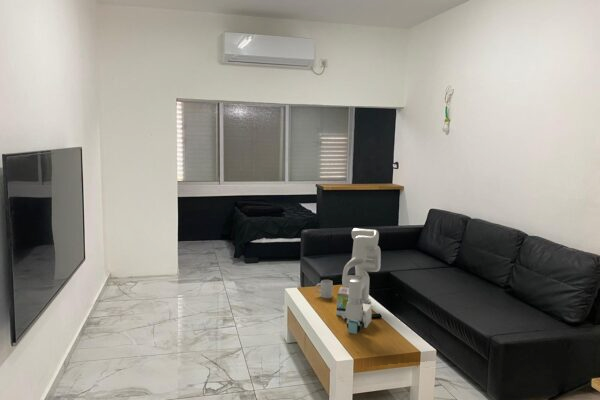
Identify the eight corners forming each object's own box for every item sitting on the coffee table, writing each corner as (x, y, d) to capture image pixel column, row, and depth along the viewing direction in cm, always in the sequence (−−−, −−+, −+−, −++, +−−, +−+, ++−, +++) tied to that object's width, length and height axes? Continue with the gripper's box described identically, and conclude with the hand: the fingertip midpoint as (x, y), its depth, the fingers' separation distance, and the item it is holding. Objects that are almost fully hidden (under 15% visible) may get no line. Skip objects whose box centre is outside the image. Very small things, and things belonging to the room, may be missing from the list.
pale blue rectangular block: (353, 324, 279) (354, 315, 278) (362, 326, 277) (362, 316, 276) (348, 332, 268) (348, 322, 267) (356, 334, 266) (356, 324, 265)
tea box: (351, 317, 291) (352, 294, 289) (336, 315, 293) (336, 293, 291) (353, 308, 306) (354, 287, 304) (338, 307, 308) (339, 285, 306)
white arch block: (355, 318, 290) (355, 302, 288) (371, 321, 286) (371, 304, 284) (349, 324, 279) (349, 308, 277) (365, 328, 275) (366, 311, 273)
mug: (331, 294, 333) (331, 279, 332) (333, 298, 325) (333, 283, 324) (314, 294, 332) (315, 279, 331) (316, 298, 324) (316, 283, 322)
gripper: (370, 300, 267) (369, 330, 270) (342, 296, 274) (341, 325, 276) (367, 305, 260) (366, 335, 263) (338, 300, 267) (337, 330, 270)
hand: (353, 330), depth 270 cm, fingers closed on pale blue rectangular block, 5 cm apart
